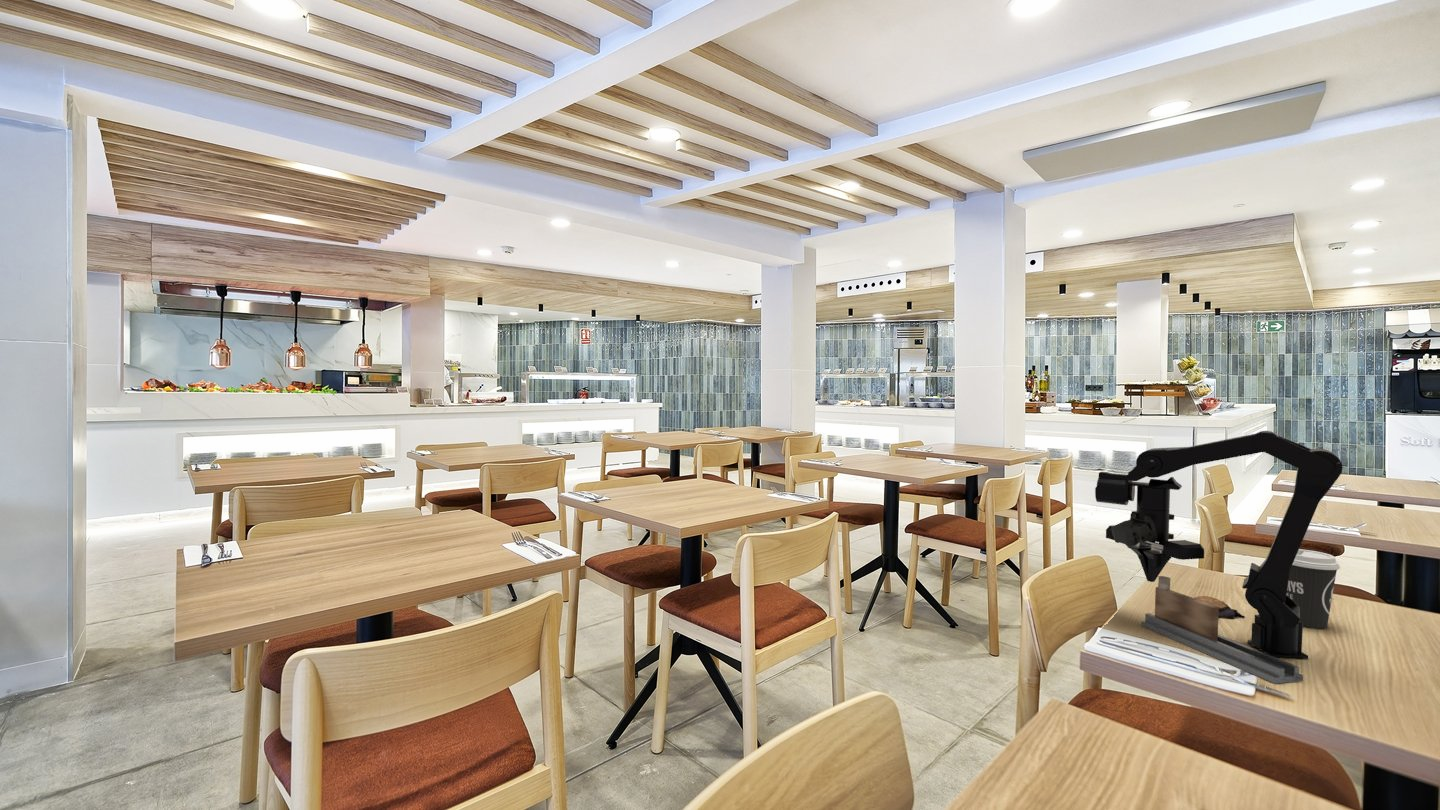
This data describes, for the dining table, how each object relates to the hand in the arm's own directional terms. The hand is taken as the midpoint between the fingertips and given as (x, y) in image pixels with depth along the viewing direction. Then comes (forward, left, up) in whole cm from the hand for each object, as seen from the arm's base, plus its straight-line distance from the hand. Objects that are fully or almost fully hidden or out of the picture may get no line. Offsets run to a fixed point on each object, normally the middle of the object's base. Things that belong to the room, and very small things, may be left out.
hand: (1150, 581), depth 132 cm
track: (-5, +13, -9) cm, 17 cm away
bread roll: (-18, -10, -10) cm, 22 cm away
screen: (-3, +7, -8) cm, 11 cm away
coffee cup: (-34, -6, -9) cm, 35 cm away
